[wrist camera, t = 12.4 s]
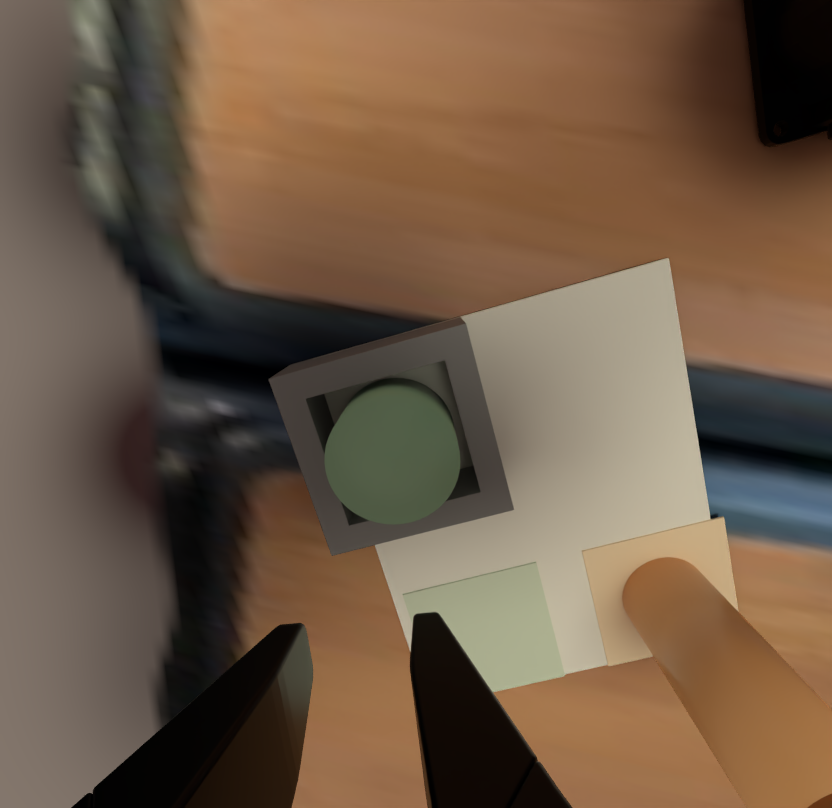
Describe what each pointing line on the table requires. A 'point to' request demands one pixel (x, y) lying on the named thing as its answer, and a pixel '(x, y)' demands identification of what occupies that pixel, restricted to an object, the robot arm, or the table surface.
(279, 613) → the table surface
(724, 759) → the tan cylindrical piece
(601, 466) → the sheet
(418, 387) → the button
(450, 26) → the table surface
